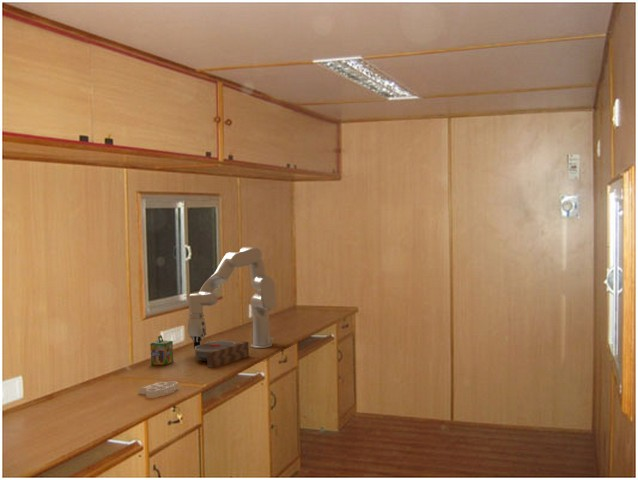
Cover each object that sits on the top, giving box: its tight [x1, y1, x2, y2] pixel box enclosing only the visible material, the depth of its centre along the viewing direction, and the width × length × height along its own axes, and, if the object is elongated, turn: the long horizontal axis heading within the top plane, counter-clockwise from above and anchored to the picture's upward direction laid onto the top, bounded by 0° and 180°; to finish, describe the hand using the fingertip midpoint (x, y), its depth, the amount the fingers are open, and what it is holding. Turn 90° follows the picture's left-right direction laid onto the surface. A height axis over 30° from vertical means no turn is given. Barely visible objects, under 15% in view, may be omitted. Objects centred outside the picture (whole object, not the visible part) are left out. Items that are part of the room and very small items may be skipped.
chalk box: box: [149, 334, 174, 366], centre depth 366 cm, size 9×9×15 cm
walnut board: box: [206, 341, 250, 369], centre depth 367 cm, size 30×3×8 cm, turn 147°
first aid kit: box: [194, 340, 236, 362], centre depth 374 cm, size 18×8×25 cm
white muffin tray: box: [138, 380, 179, 399], centre depth 309 cm, size 3×18×15 cm
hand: (197, 348), depth 382 cm, fingers closed
